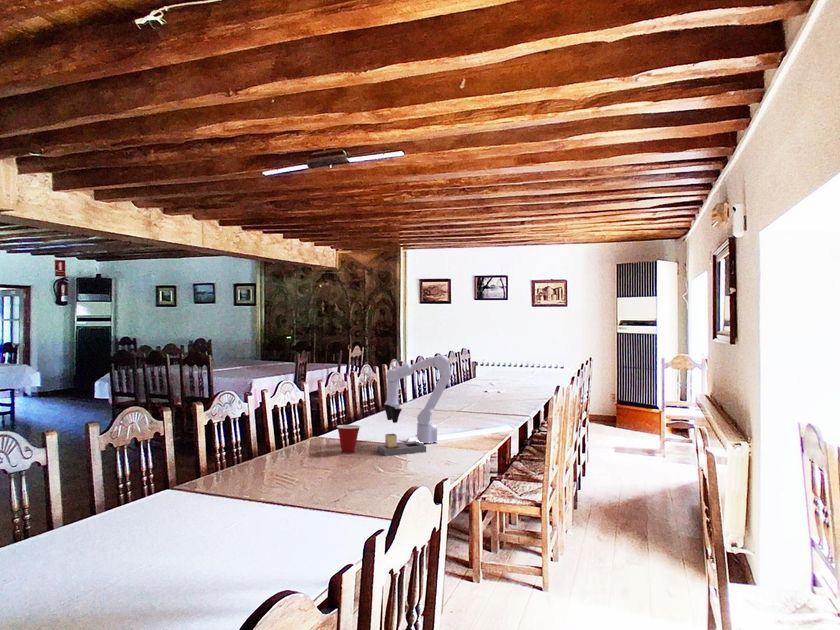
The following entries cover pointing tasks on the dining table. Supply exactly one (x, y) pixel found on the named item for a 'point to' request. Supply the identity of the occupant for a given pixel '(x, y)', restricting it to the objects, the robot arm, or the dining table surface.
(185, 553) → the dining table surface
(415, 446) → the steel frame
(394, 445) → the wooden peg
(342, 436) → the plastic cup
